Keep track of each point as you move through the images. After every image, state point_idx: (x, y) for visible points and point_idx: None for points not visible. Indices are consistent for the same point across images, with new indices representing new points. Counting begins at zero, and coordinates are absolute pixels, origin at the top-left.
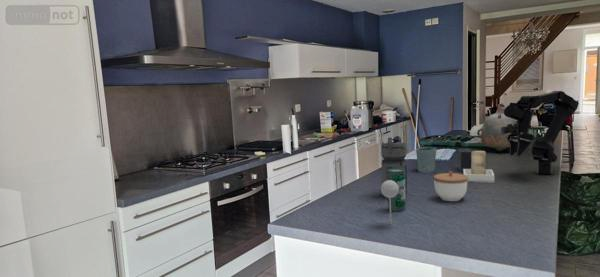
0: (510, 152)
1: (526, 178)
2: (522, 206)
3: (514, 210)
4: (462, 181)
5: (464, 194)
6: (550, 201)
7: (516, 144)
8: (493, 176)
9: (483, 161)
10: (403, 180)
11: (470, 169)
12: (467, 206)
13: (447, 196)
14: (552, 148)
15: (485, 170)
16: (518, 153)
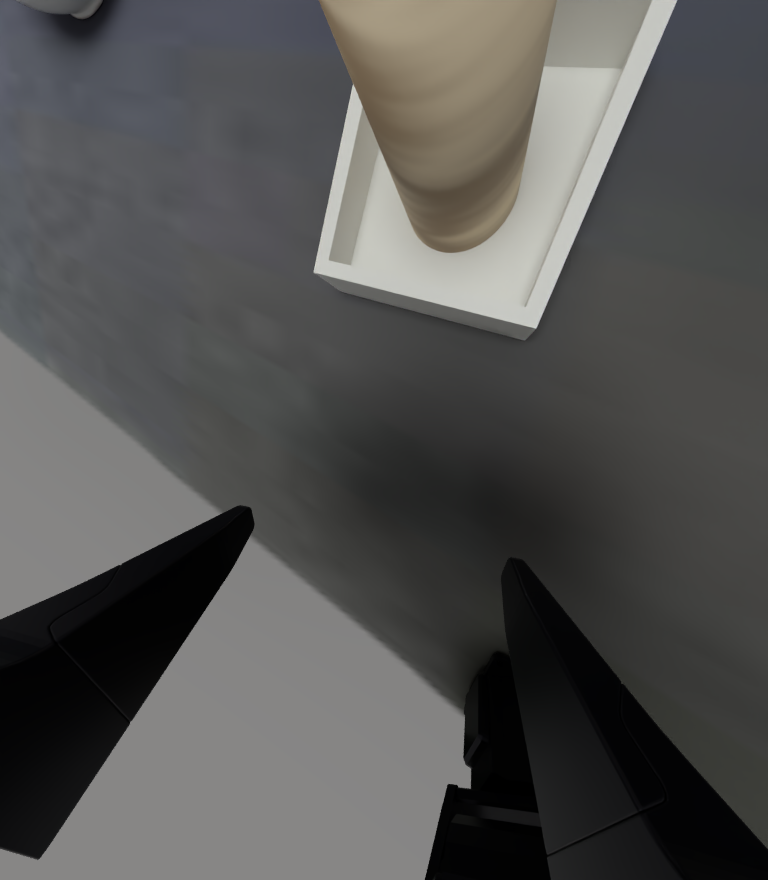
0: (520, 585)
1: (417, 528)
2: (44, 279)
3: (13, 235)
4: None
5: (28, 6)
6: (93, 397)
7: None
8: (320, 269)
9: (358, 94)
10: None
11: (620, 77)
12: (17, 53)
13: None
14: None
15: (544, 264)
16: (217, 523)
